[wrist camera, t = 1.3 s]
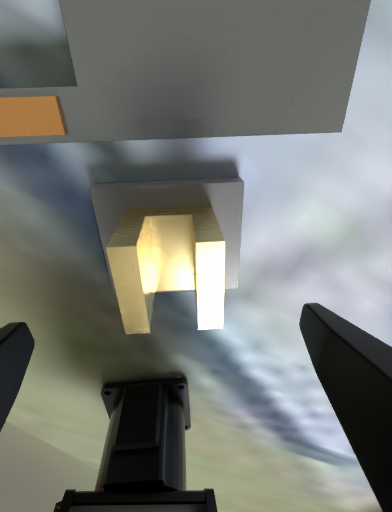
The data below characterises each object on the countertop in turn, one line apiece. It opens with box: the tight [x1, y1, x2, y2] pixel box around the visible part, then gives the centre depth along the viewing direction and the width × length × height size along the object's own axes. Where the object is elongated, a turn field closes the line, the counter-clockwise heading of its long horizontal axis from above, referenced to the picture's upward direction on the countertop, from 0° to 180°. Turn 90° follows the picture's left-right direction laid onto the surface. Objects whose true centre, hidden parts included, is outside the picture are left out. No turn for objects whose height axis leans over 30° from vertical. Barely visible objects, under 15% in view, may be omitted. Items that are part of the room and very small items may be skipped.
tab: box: [89, 177, 244, 296], centre depth 14 cm, size 6×7×1 cm
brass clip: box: [106, 205, 225, 335], centre depth 11 cm, size 4×4×4 cm
